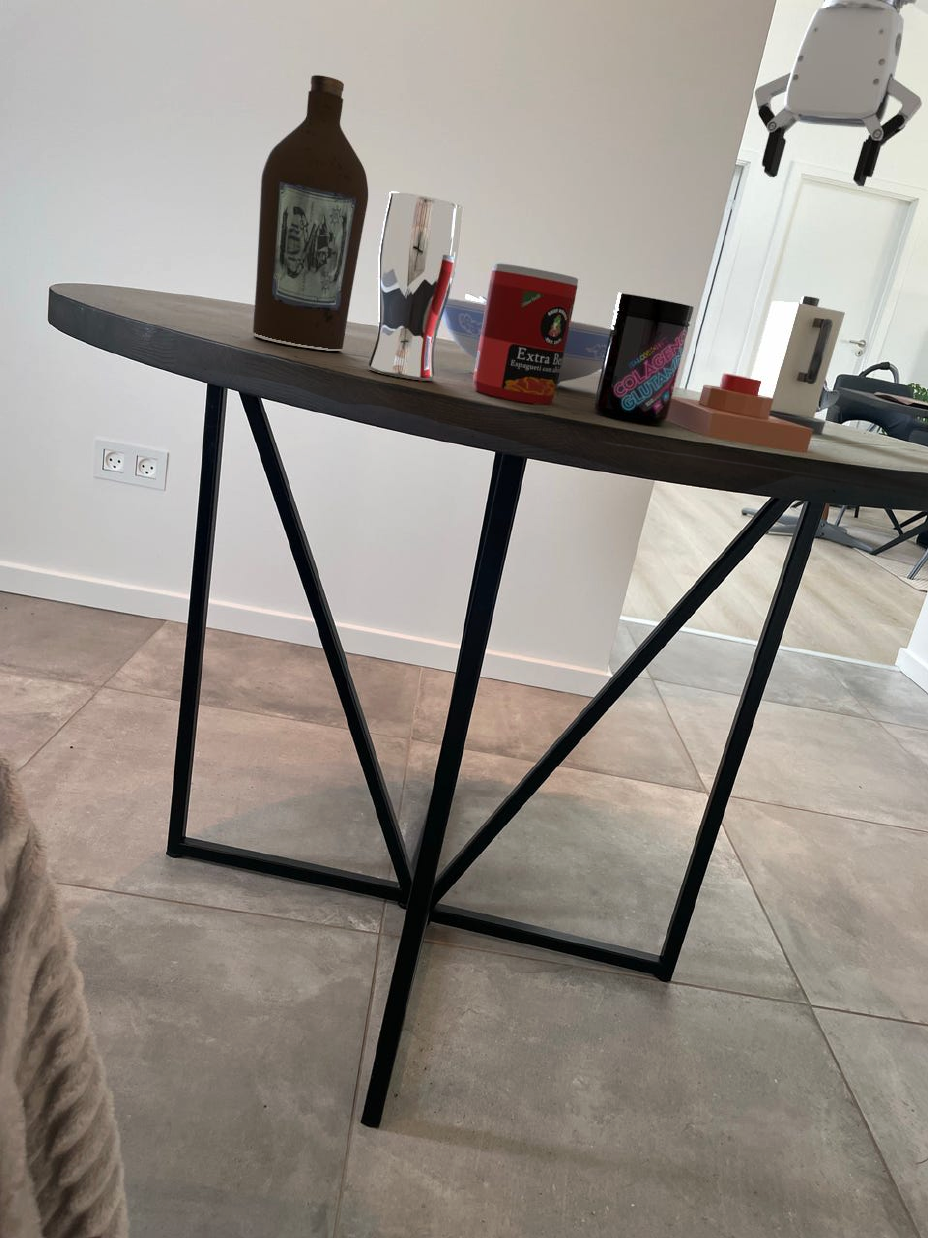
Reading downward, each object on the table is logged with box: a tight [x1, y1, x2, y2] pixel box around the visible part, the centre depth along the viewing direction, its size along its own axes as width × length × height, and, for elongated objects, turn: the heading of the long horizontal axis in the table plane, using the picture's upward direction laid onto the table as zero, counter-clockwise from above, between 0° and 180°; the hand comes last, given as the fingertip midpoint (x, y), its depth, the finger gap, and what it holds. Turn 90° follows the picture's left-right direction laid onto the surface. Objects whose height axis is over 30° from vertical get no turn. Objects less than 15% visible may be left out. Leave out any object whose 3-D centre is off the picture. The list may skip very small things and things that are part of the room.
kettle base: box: [769, 411, 826, 436], centre depth 111 cm, size 11×11×2 cm
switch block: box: [666, 384, 813, 454], centre depth 88 cm, size 10×12×4 cm
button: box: [719, 372, 762, 396], centre depth 87 cm, size 4×4×2 cm
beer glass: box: [368, 191, 465, 383], centre depth 83 cm, size 7×7×15 cm
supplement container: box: [593, 292, 695, 428], centre depth 82 cm, size 7×7×10 cm
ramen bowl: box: [442, 293, 611, 385], centre depth 105 cm, size 25×23×8 cm
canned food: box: [472, 262, 579, 405], centre depth 83 cm, size 8×8×11 cm
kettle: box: [751, 295, 846, 418], centre depth 109 cm, size 11×6×13 cm, turn 11°
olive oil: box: [252, 74, 369, 350], centre depth 94 cm, size 11×11×25 cm
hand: (813, 178), depth 102 cm, fingers open, 9 cm apart
